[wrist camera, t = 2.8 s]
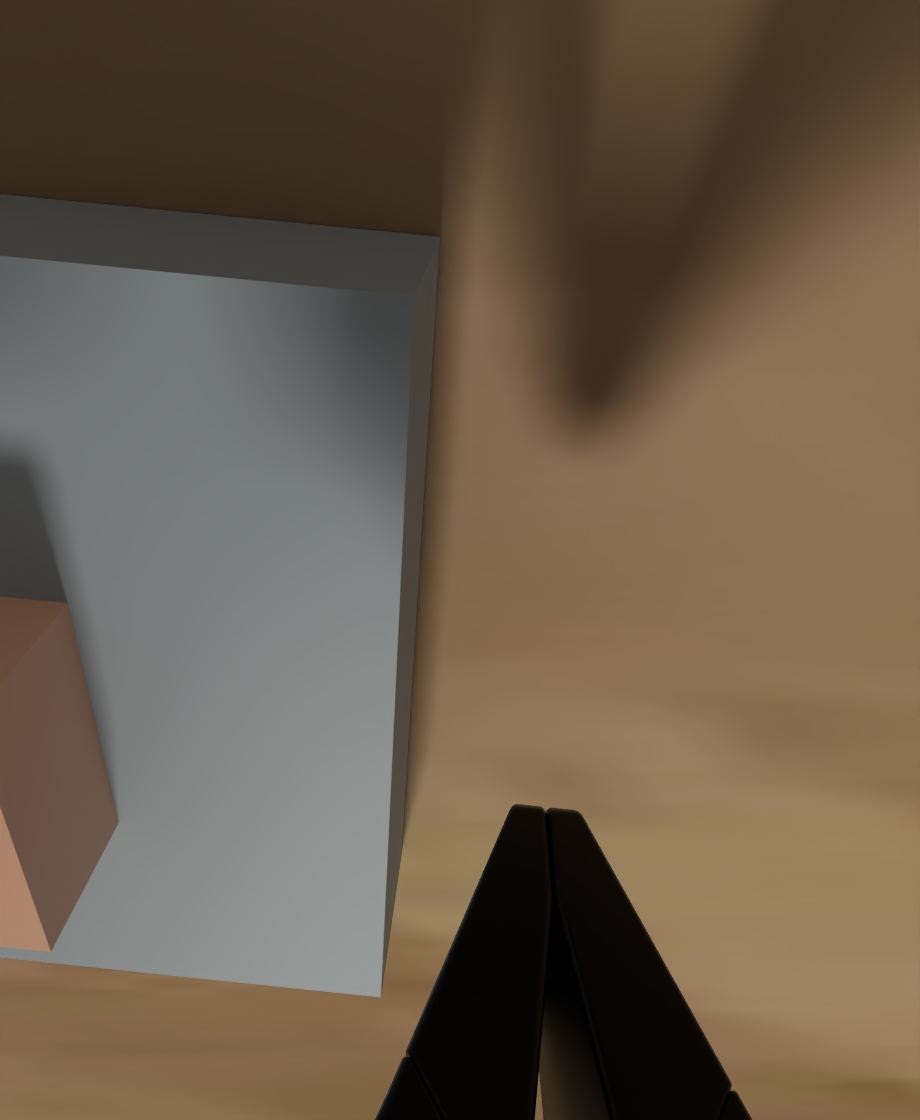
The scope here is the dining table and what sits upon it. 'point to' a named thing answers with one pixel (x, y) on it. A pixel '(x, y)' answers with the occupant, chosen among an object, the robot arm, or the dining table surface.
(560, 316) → the dining table surface
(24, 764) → the tile
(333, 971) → the grey base plate
